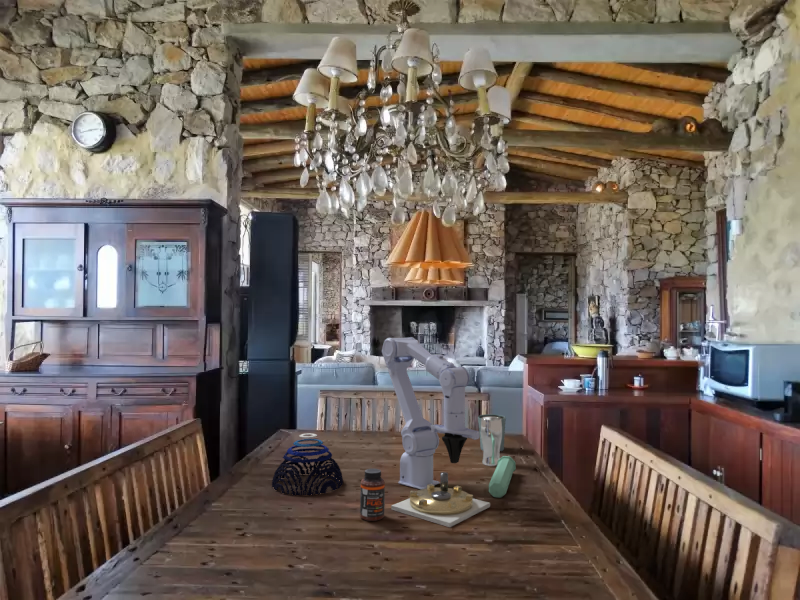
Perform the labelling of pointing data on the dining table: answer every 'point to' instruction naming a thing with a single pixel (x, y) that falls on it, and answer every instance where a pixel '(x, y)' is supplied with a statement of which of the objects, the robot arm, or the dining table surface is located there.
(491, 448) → the beer glass
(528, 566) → the dining table surface
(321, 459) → the decorative bowl
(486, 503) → the dial plate
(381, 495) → the supplement bottle
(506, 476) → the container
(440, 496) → the brass round disc
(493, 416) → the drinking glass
